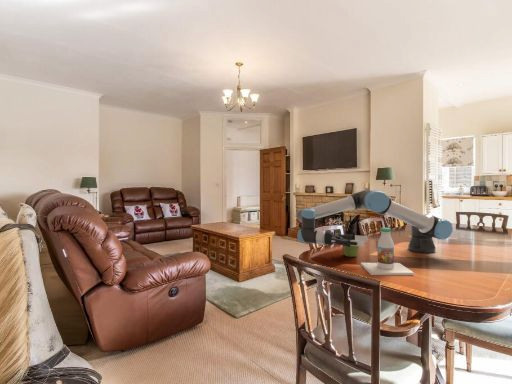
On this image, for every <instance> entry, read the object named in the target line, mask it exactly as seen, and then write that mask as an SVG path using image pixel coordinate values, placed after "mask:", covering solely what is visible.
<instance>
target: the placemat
mask: <svg viewBox="0 0 512 384" xmlns="http://www.w3.org/2000/svg"><path fill="white" fill-rule="evenodd" d="M360 266H361V267H362V268H363V269H364V270H365V271H366V272H367V273H369V275H371V276H415V272H413V271H412V270H410V269H409V268H408V267H406V266H404V265H403V264H401V263H400V262H394V268H393V269H382V268H379V267H378V266H377V262H360Z"/></svg>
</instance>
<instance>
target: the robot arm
mask: <svg viewBox="0 0 512 384" xmlns="http://www.w3.org/2000/svg"><path fill="white" fill-rule="evenodd" d="M361 209H362V210H368V211H371V212H372V213H375V214H378V215H380V216H383V215H386V216H389V217H392V218H394V219H396V220H398V221H401V222H402V223H405V224H408V225H410V227H411V229H410V230H411V233H410V235H411V236H410V240H409V242H408V245H407V249H408V250H409V251H412V252H416V253H421V254H422V253H424V254H431V253H433V254H434V253H436V245H435V243H434V239H437V240H442V241H444V240H447V239H449V238H450V237H451V235H452V233H453V230H454V229H453V225H452V223H451V222H450V220H447V219H444V218H440V217H437V216H435V215H433V214H431V213H428V214H426V213H425V214H424V213H422V212H419V211H417V210H414V209H412V208H410V207H408V206H405V205H403V204H400V203H398V202H396V201H394V200H392V197H390V196H389V195H387V194H386V193H385V192H383V191H381V190H371V189H369V190H368V189H365V190H361V191H358V192H355V193H352V194H349V195H347V196H346V197H343V198H341V199H337V200H334V201H329V202H327V203H323V204H318V205H315V206H313V207H312V206H311V207H309V208H302V209H299V210H297V212H295V218H296V219H297V221H298V222H299V223H301V228H300V229H299V230H298V231H297V241H298V242H299V243H306V244H314V245H315V244H316V245H319V246H322V245H326V246H332V245H333V244H335V245H340V246H342V247H343V246H348V247H350V245H351V246H359V247H363V248H364V247H365V242H369V240H368V239H369V236H368V235H356V233H353V234H346V233H344V234H340V233H339V234H338V233H337V234H335V235H334V232H333V231H330V230H318V229H317V230H316V219H321V218H324V217H327V216H331V215H334V214H338V213H342V212H346V211H348V210H353V211H354V210H361ZM350 240H351V242H350Z"/></svg>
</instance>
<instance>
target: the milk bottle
mask: <svg viewBox="0 0 512 384" xmlns="http://www.w3.org/2000/svg"><path fill="white" fill-rule="evenodd" d="M391 231H392V229H391V228H390V227H381V228H380V237H379V238H378V241H377V245H376V247H377V250H376V251H377V253H376V254H377V256H376V257H377V258H376V260H377V262H376V263H377V266H378V267H379V268H382V269H393V268H394V263H395V245H394V240H393V239H392V238H393V237H392V236H391Z"/></svg>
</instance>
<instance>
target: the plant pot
mask: <svg viewBox="0 0 512 384" xmlns="http://www.w3.org/2000/svg"><path fill="white" fill-rule="evenodd" d="M350 242H351V240H350ZM342 247H343V253H344V256H346V257H349V258H352V257H357V256H358V254H359V253H358V252H359V247H360V246H351V245H350V247H348V246H343V245H342Z"/></svg>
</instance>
